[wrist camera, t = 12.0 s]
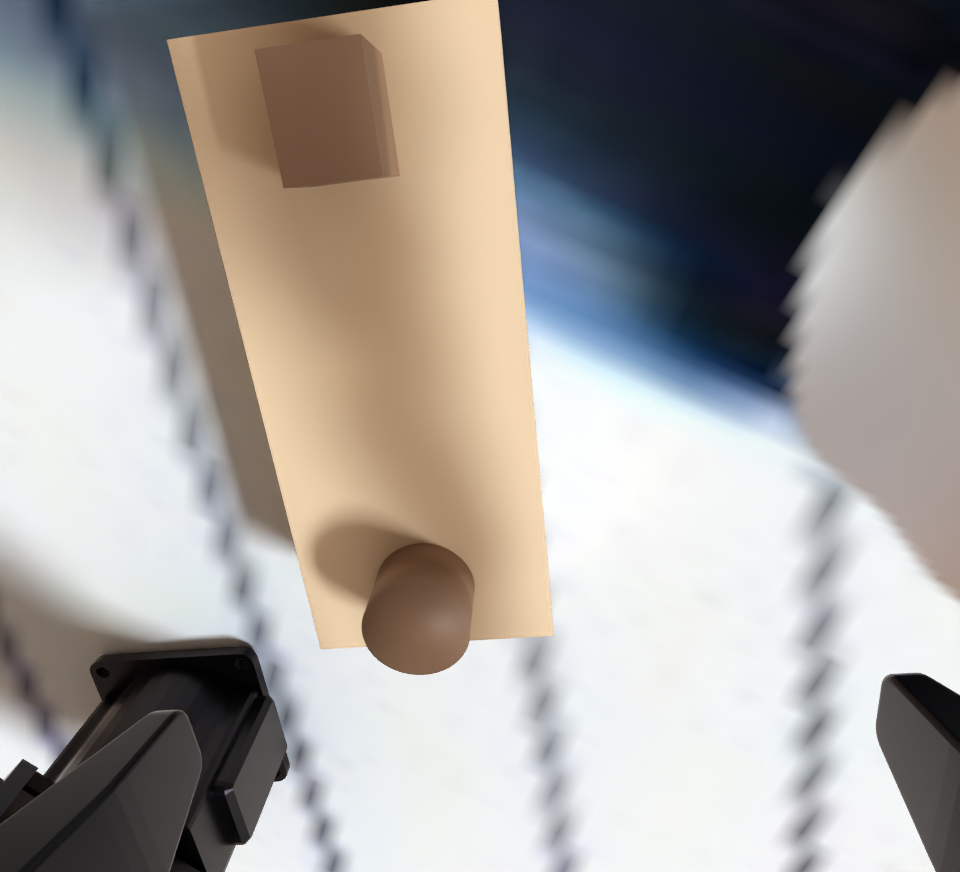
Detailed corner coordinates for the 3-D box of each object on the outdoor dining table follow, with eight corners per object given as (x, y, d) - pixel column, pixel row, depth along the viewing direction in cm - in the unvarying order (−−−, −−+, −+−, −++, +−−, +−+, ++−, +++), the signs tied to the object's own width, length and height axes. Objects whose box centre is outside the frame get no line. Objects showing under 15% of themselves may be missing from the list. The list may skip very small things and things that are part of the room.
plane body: (351, 573, 23) (300, 698, 18) (241, 68, 17) (112, 18, 12) (547, 559, 23) (557, 685, 17) (500, 31, 17) (493, -41, 11)
